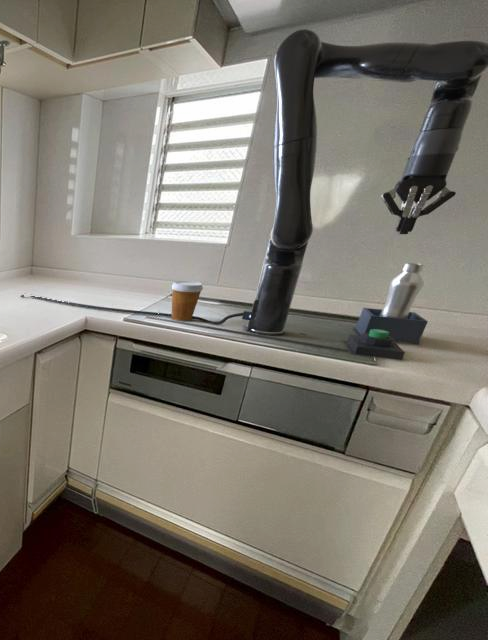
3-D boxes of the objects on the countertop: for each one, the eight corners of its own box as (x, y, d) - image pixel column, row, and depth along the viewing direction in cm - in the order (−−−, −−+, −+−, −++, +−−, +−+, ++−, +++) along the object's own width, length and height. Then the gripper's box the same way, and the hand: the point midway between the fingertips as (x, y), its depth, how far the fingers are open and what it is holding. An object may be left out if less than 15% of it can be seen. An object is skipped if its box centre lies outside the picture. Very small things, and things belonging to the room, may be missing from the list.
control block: (354, 354, 103) (359, 339, 102) (346, 342, 113) (351, 328, 111) (401, 360, 99) (407, 345, 98) (389, 347, 108) (394, 333, 107)
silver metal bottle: (370, 329, 122) (396, 261, 114) (400, 333, 118) (429, 263, 110) (371, 334, 117) (398, 264, 109) (403, 339, 113) (433, 266, 105)
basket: (363, 338, 116) (371, 315, 114) (355, 328, 125) (363, 307, 123) (418, 344, 111) (428, 321, 108) (405, 334, 120) (415, 312, 117)
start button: (369, 338, 104) (372, 331, 103) (366, 334, 107) (369, 328, 106) (388, 340, 102) (390, 333, 102) (384, 336, 105) (387, 330, 104)
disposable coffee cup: (166, 320, 135) (173, 284, 130) (165, 314, 143) (171, 280, 138) (198, 323, 132) (205, 286, 127) (195, 316, 140) (202, 281, 135)
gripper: (466, 153, 91) (434, 234, 98) (389, 157, 98) (363, 232, 104) (481, 149, 85) (445, 235, 92) (397, 154, 92) (369, 234, 98)
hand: (402, 234), depth 98 cm, fingers closed
